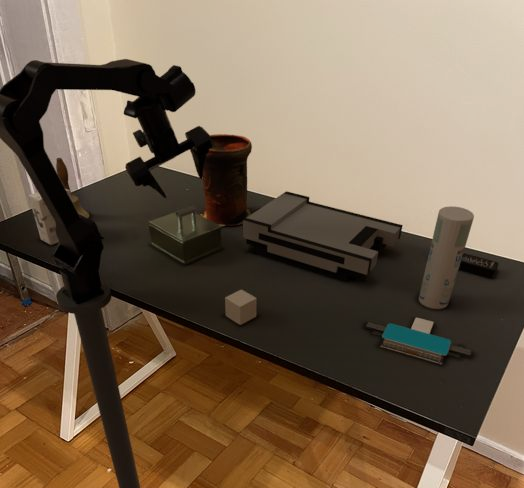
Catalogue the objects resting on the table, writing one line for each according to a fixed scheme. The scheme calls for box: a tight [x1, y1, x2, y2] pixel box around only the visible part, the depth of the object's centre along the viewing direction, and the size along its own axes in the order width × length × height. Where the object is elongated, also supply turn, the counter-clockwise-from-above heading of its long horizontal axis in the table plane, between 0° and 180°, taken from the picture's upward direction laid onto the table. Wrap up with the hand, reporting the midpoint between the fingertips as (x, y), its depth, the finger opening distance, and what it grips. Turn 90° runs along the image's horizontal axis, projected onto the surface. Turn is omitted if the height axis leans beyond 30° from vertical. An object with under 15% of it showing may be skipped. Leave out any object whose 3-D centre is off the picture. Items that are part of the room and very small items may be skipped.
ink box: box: [28, 189, 72, 246], centre depth 128 cm, size 9×5×12 cm, turn 139°
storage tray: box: [148, 223, 222, 266], centre depth 127 cm, size 13×11×6 cm
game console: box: [242, 190, 403, 282], centre depth 126 cm, size 21×32×8 cm, turn 59°
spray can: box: [418, 206, 475, 310], centre depth 105 cm, size 6×6×20 cm
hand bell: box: [55, 157, 90, 219], centre depth 136 cm, size 8×8×16 cm
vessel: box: [199, 133, 253, 227], centre depth 137 cm, size 14×14×20 cm
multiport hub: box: [458, 252, 500, 280], centre depth 123 cm, size 4×14×2 cm, turn 58°
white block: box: [224, 289, 258, 326], centre depth 105 cm, size 4×4×4 cm
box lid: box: [148, 204, 223, 243], centre depth 123 cm, size 14×11×5 cm
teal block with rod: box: [365, 317, 472, 366], centre depth 101 cm, size 20×12×2 cm, turn 64°
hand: (183, 187), depth 117 cm, fingers open, 9 cm apart
